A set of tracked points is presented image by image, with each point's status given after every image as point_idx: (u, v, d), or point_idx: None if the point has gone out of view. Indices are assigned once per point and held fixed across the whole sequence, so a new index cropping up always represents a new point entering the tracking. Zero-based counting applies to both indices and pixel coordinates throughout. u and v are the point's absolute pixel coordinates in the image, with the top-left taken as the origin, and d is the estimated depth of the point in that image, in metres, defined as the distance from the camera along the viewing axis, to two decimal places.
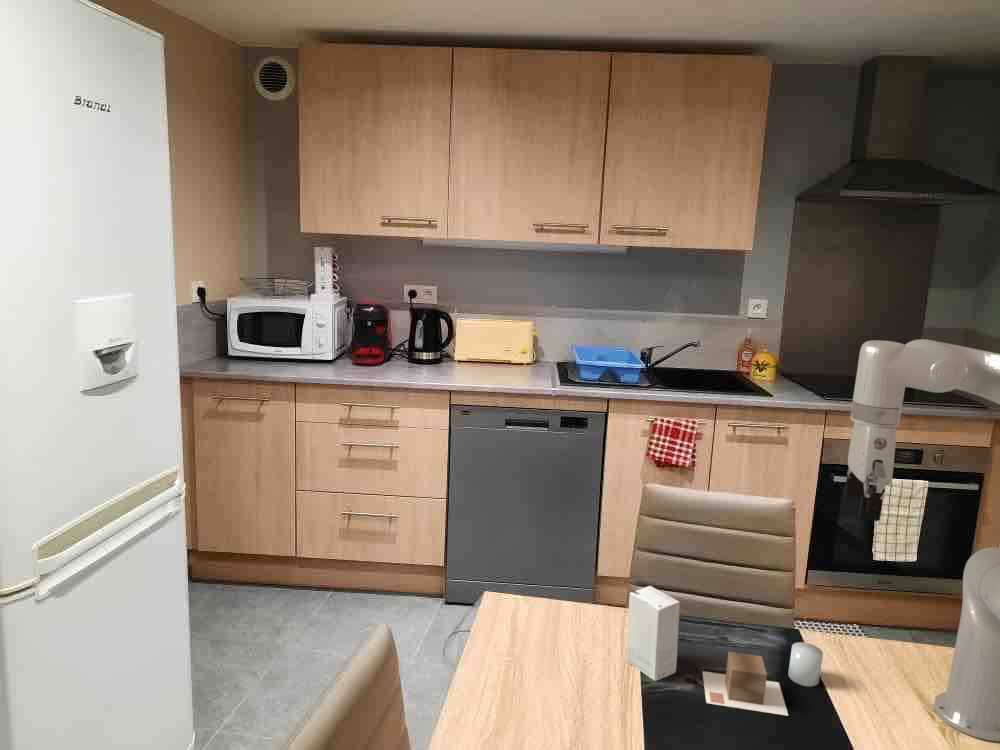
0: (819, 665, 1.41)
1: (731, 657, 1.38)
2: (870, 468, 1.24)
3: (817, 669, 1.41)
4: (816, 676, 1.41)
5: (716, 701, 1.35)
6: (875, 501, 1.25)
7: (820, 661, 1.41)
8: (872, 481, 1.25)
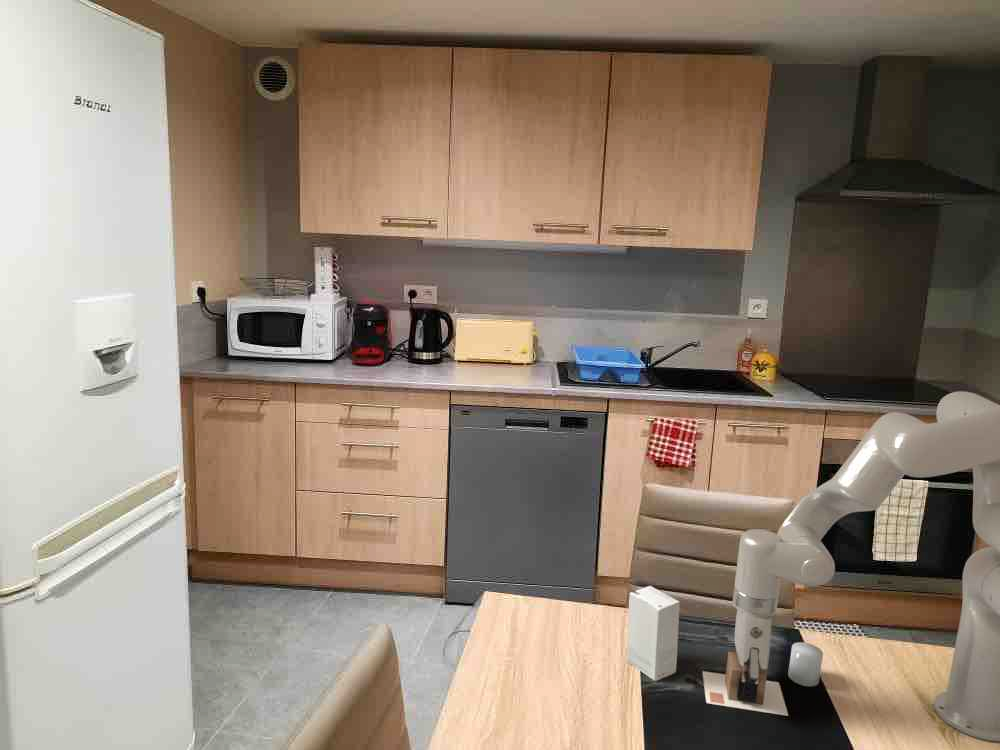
0: (819, 665, 1.41)
1: (731, 657, 1.38)
2: (747, 655, 1.31)
3: (817, 669, 1.41)
4: (816, 676, 1.41)
5: (716, 701, 1.35)
6: (750, 685, 1.33)
7: (820, 661, 1.41)
8: (749, 667, 1.33)
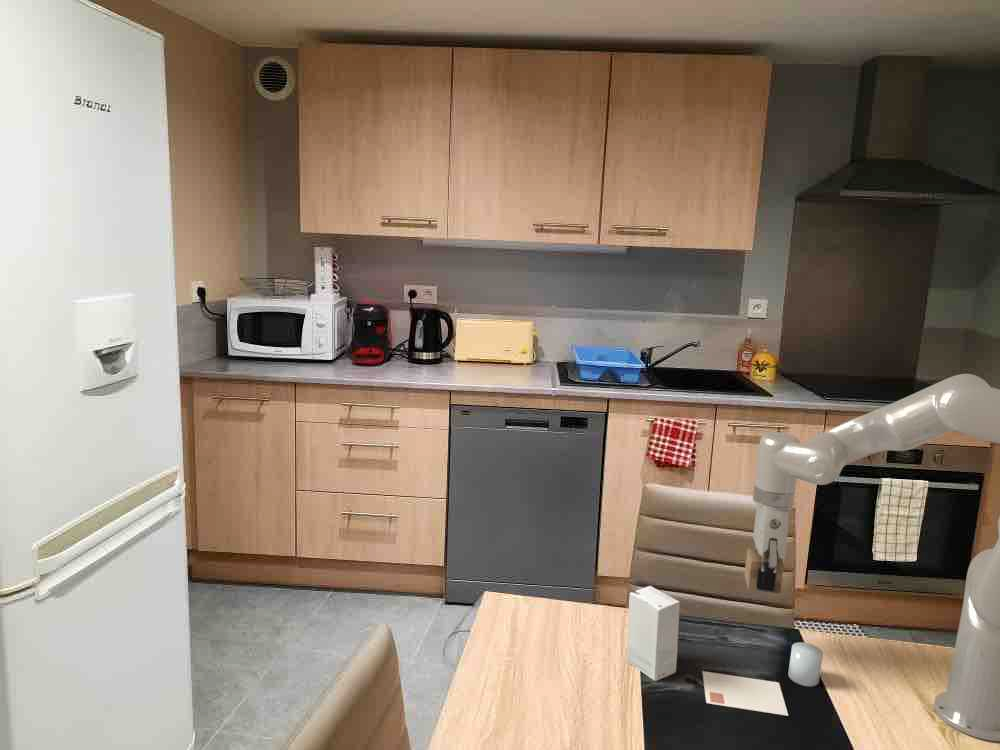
0: (819, 665, 1.41)
1: (751, 552, 1.50)
2: (766, 545, 1.43)
3: (817, 669, 1.41)
4: (816, 676, 1.41)
5: (716, 701, 1.35)
6: (769, 574, 1.45)
7: (820, 661, 1.41)
8: (768, 557, 1.45)
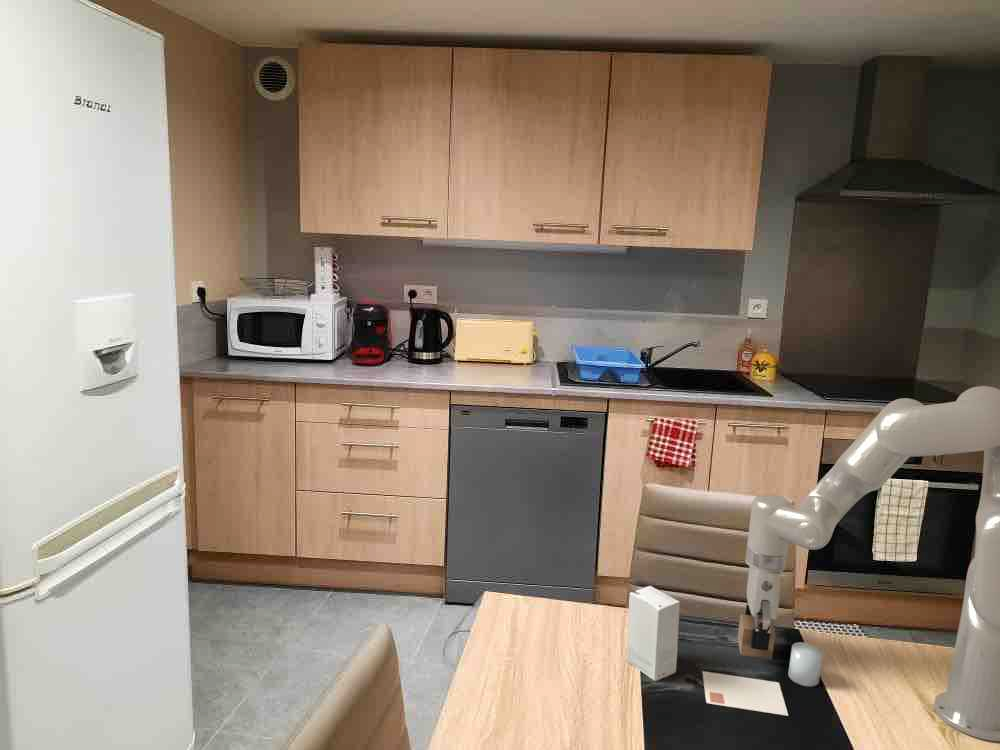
0: (819, 665, 1.41)
1: (743, 618, 1.53)
2: (759, 606, 1.46)
3: (817, 669, 1.41)
4: (816, 676, 1.41)
5: (716, 701, 1.35)
6: (763, 634, 1.46)
7: (820, 661, 1.41)
8: (761, 617, 1.47)
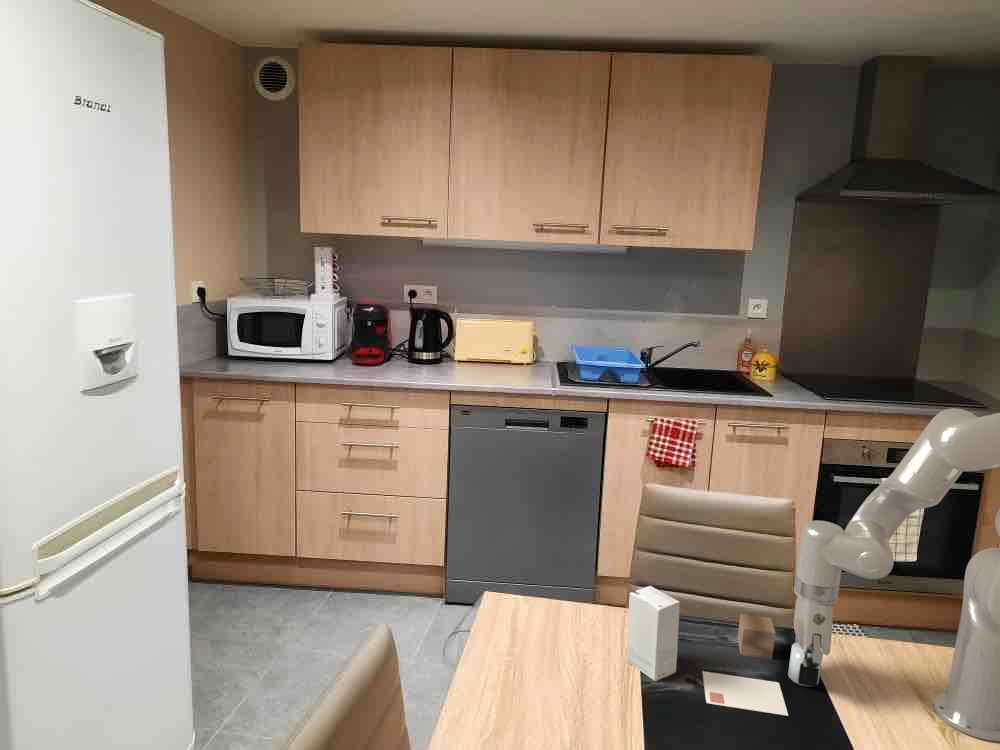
0: None
1: (743, 618, 1.53)
2: (810, 640, 1.37)
3: None
4: None
5: (716, 701, 1.35)
6: (812, 670, 1.39)
7: None
8: (810, 652, 1.39)
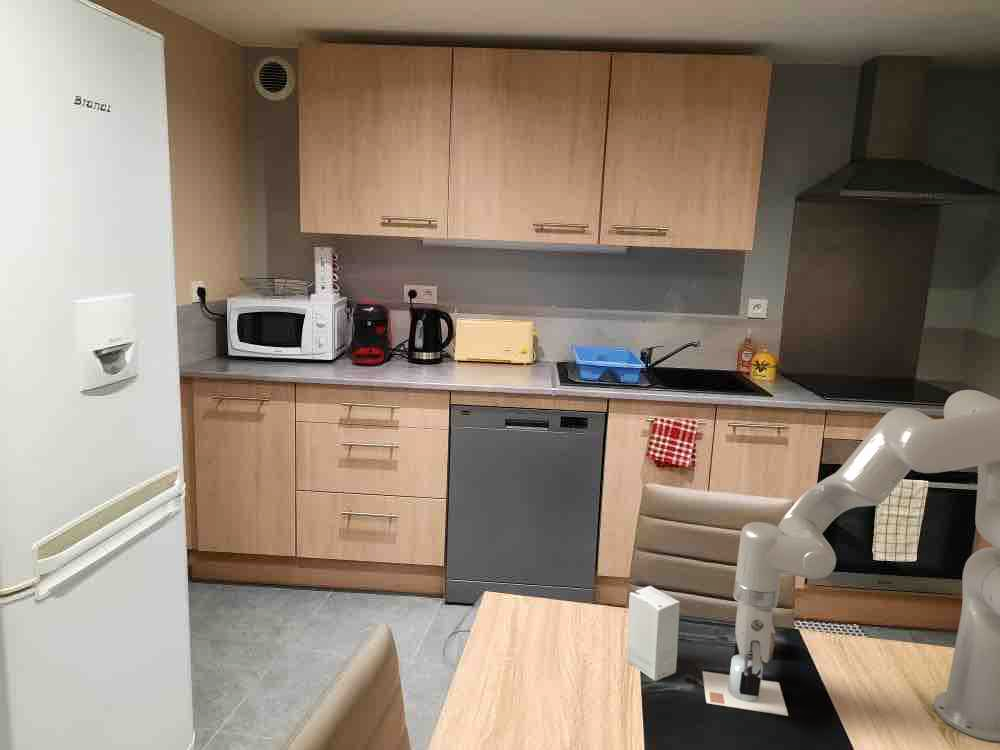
0: None
1: None
2: (748, 648, 1.31)
3: None
4: None
5: (716, 701, 1.35)
6: (753, 679, 1.31)
7: None
8: (751, 659, 1.32)
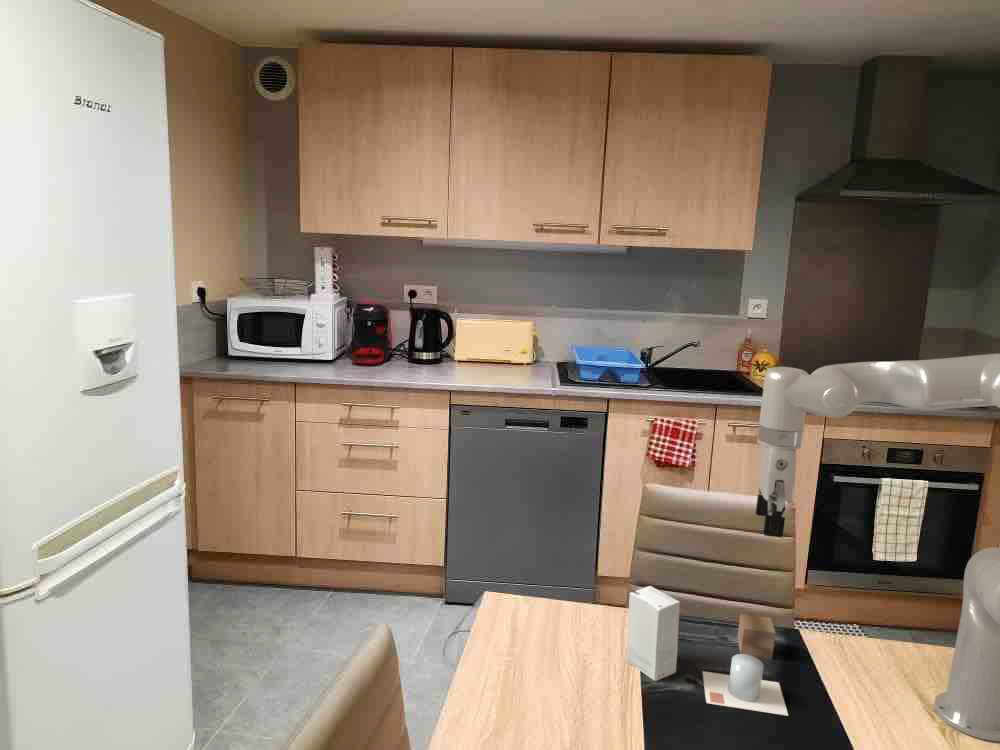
0: (759, 678, 1.35)
1: (743, 618, 1.53)
2: (772, 488, 1.32)
3: (757, 682, 1.35)
4: (757, 689, 1.35)
5: (716, 701, 1.35)
6: (777, 519, 1.32)
7: (760, 673, 1.35)
8: (775, 500, 1.33)
